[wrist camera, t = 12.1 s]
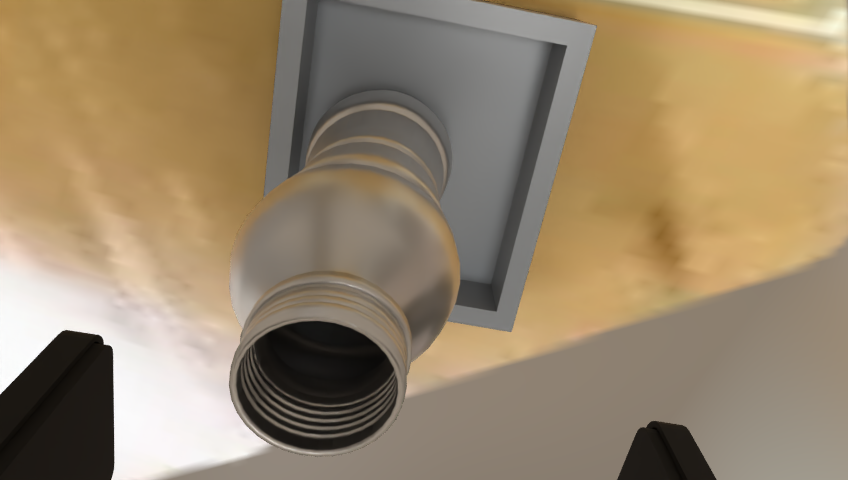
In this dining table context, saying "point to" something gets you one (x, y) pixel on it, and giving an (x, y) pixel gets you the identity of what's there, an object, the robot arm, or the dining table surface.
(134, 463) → the dining table surface
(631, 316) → the dining table surface
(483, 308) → the grey bin
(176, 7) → the dining table surface
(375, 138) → the plastic bottle
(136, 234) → the dining table surface
